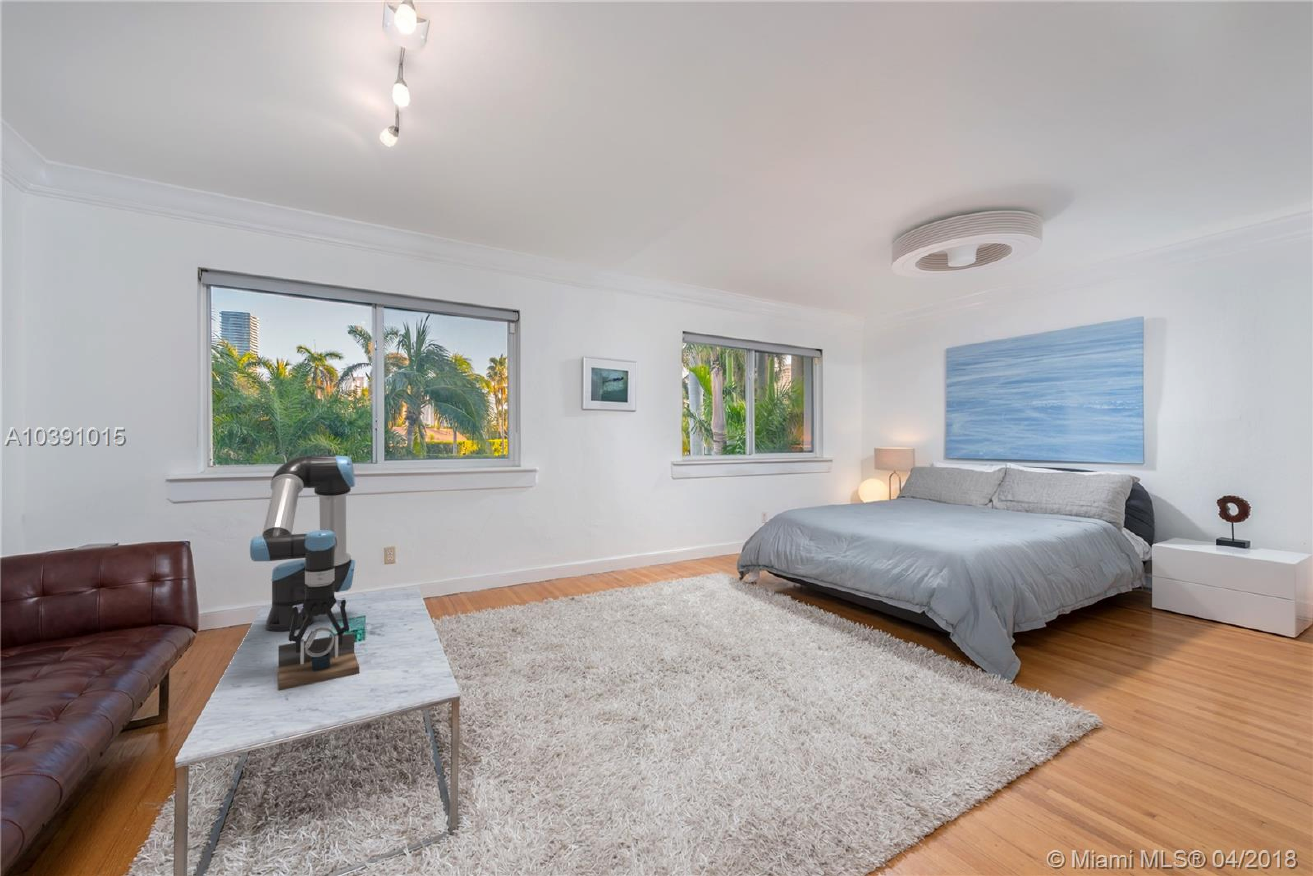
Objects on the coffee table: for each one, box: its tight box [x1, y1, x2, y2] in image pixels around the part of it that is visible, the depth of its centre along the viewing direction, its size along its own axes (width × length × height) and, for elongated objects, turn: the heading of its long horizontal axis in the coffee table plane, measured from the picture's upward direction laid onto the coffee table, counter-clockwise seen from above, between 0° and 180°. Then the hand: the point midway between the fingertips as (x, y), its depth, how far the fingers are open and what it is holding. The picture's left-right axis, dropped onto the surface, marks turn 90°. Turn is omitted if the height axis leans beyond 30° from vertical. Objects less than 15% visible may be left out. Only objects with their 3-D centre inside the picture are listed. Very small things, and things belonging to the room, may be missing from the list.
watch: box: [304, 627, 335, 671], centre depth 164 cm, size 6×8×11 cm
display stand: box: [277, 632, 360, 691], centre depth 165 cm, size 14×20×8 cm
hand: (319, 659), depth 164 cm, fingers closed on watch, 8 cm apart
